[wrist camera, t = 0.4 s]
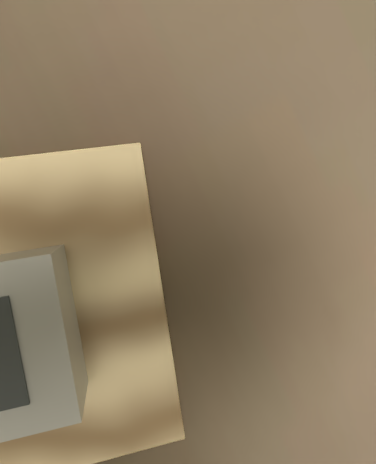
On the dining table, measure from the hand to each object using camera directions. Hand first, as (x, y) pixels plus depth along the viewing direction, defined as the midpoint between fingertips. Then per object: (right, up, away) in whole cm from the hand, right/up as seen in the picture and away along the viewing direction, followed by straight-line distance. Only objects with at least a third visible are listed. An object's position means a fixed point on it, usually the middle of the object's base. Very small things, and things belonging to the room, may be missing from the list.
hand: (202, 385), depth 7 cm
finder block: (-10, -2, +12) cm, 15 cm away
